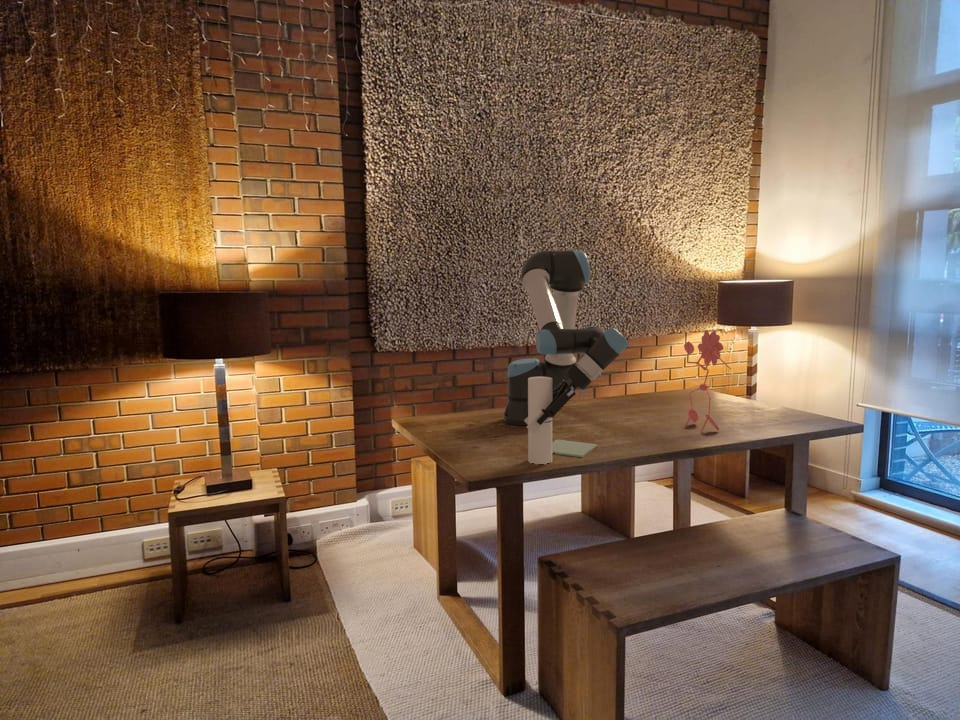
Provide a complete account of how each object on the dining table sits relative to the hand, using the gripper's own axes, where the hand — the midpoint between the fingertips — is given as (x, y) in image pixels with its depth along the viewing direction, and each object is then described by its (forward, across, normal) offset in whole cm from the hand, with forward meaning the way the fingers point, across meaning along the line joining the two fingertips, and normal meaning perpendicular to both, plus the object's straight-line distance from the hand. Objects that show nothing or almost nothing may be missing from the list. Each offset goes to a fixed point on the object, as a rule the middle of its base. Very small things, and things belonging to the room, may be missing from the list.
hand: (528, 426), depth 189 cm
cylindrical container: (+5, 0, -10) cm, 11 cm away
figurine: (-41, +36, -56) cm, 78 cm away
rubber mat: (-3, +12, -17) cm, 22 cm away
